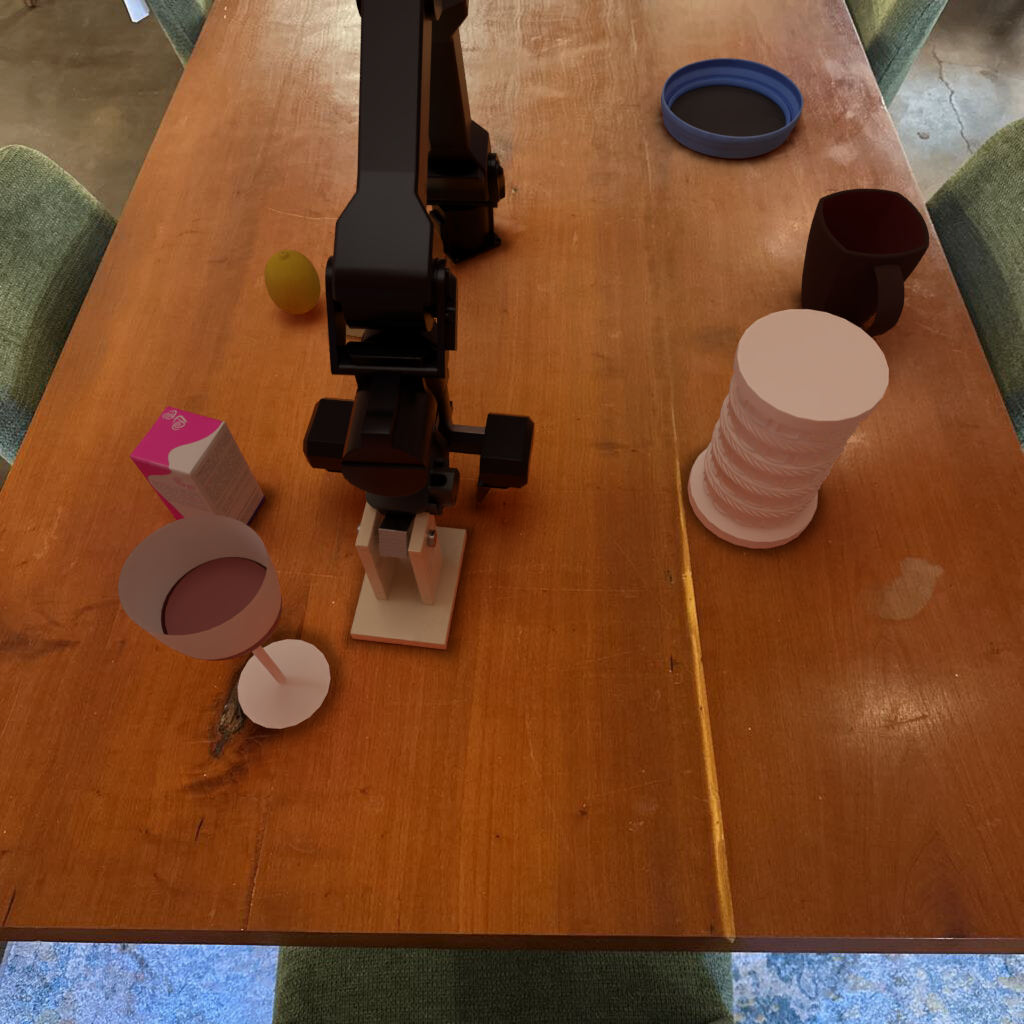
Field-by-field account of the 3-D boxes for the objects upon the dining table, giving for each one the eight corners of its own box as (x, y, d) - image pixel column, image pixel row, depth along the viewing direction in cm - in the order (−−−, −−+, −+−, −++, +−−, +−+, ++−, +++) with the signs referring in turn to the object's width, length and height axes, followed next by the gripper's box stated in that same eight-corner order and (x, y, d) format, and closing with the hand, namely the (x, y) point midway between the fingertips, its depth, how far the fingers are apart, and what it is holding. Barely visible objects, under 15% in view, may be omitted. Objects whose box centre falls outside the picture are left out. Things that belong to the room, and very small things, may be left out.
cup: (859, 278, 86) (905, 184, 75) (904, 372, 78) (961, 282, 68) (772, 285, 85) (806, 191, 75) (809, 380, 78) (852, 290, 68)
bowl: (815, 108, 103) (824, 81, 100) (762, 180, 95) (770, 154, 92) (693, 69, 108) (698, 43, 105) (634, 135, 100) (637, 108, 97)
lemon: (318, 332, 82) (299, 274, 76) (269, 325, 83) (246, 267, 76) (334, 297, 85) (317, 238, 78) (287, 290, 86) (266, 231, 79)
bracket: (380, 526, 70) (358, 458, 61) (466, 535, 69) (458, 468, 60) (352, 638, 64) (323, 582, 55) (446, 650, 64) (432, 595, 54)
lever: (411, 485, 70) (411, 453, 68) (446, 489, 70) (446, 457, 68) (372, 559, 59) (371, 523, 57) (413, 564, 58) (413, 527, 57)
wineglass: (235, 641, 64) (130, 520, 47) (339, 632, 64) (272, 509, 47) (225, 736, 60) (106, 641, 43) (335, 726, 60) (261, 628, 43)
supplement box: (268, 496, 72) (227, 420, 62) (236, 548, 69) (188, 478, 59) (214, 479, 73) (165, 402, 63) (180, 530, 70) (124, 458, 60)
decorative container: (661, 485, 72) (698, 352, 56) (747, 424, 75) (805, 283, 60) (752, 572, 67) (820, 453, 51) (840, 503, 70) (928, 372, 55)
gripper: (258, 458, 54) (311, 560, 68) (518, 484, 53) (520, 583, 66) (300, 343, 60) (341, 458, 73) (536, 364, 59) (534, 477, 72)
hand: (431, 494), depth 71 cm, fingers open, 9 cm apart
